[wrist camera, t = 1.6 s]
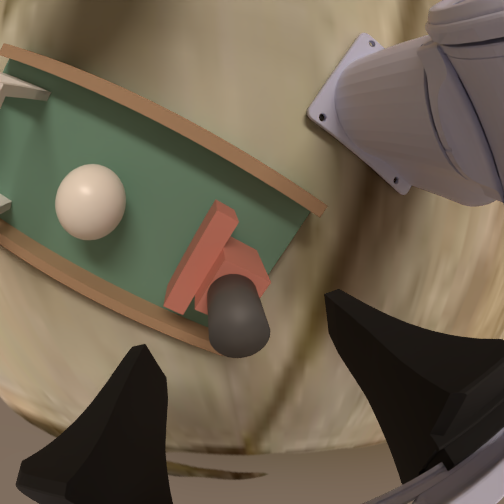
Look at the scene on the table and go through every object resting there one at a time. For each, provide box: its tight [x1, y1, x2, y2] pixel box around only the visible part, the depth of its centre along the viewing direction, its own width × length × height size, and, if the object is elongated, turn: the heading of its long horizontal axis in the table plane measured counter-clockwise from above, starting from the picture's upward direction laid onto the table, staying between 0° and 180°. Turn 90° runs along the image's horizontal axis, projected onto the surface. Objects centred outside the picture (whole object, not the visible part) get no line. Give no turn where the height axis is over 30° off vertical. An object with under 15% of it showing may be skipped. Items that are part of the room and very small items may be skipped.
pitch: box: [0, 43, 327, 356], centre depth 15 cm, size 24×12×2 cm, turn 58°
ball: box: [55, 164, 126, 240], centre depth 13 cm, size 4×4×4 cm
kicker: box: [163, 199, 271, 358], centre depth 14 cm, size 4×6×7 cm, turn 148°
